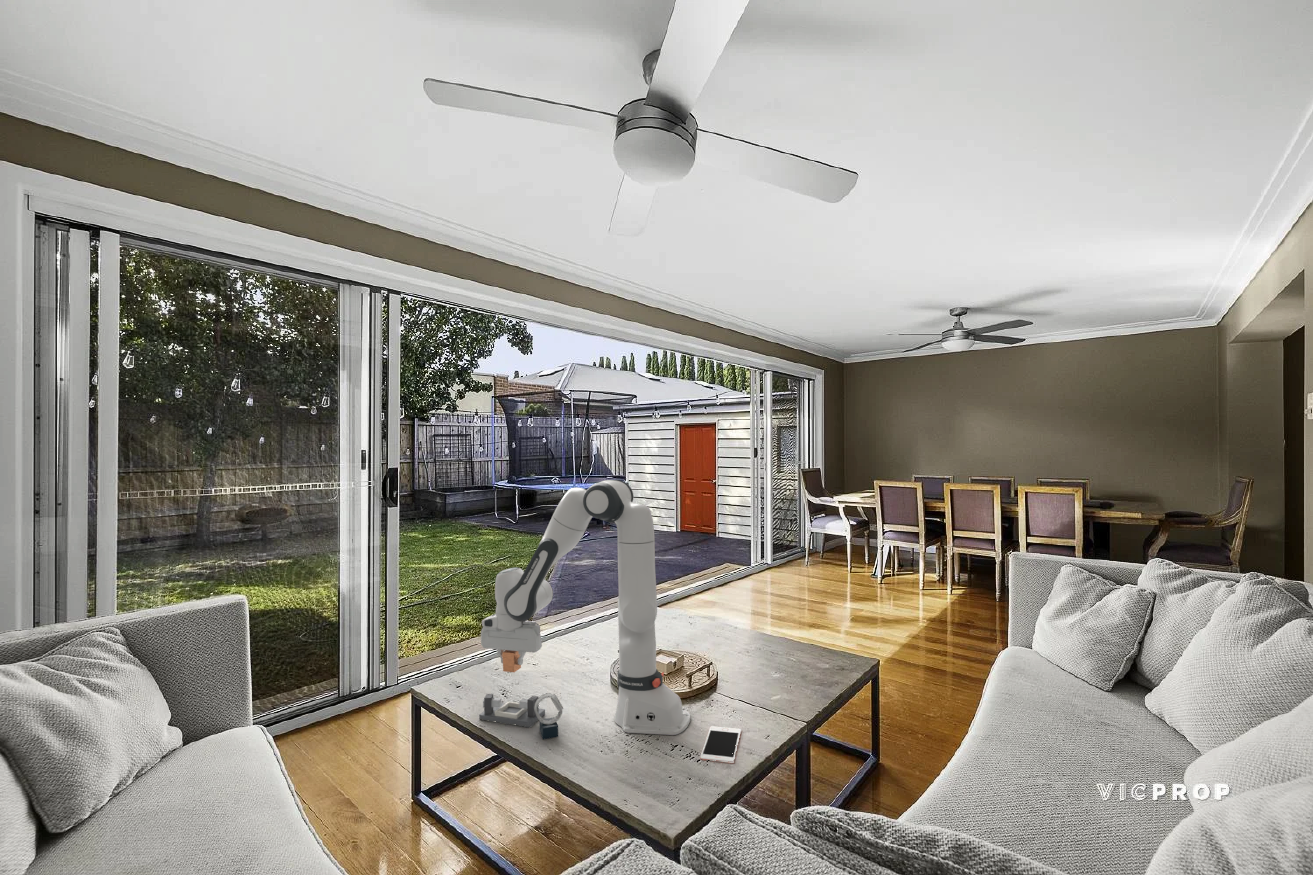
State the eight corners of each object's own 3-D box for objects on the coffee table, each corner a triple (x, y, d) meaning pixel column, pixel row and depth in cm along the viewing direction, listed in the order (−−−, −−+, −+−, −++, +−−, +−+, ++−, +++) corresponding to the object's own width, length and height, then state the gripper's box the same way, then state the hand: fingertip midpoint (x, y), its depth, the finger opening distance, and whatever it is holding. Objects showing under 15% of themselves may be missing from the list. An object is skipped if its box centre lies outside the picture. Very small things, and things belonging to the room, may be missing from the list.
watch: (565, 735, 172) (564, 696, 172) (536, 740, 169) (535, 700, 169) (561, 726, 177) (560, 688, 177) (533, 731, 174) (532, 692, 174)
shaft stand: (545, 714, 185) (544, 692, 185) (529, 727, 177) (529, 705, 177) (496, 706, 190) (496, 686, 190) (479, 719, 182) (479, 697, 182)
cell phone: (741, 731, 173) (741, 728, 173) (734, 765, 156) (734, 761, 156) (710, 728, 176) (710, 725, 176) (699, 761, 158) (699, 757, 158)
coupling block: (521, 667, 194) (520, 648, 194) (514, 672, 190) (513, 653, 190) (510, 666, 195) (509, 647, 195) (503, 671, 192) (502, 652, 192)
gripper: (544, 618, 193) (546, 662, 193) (488, 614, 199) (490, 657, 199) (534, 624, 187) (536, 670, 187) (477, 620, 193) (478, 664, 193)
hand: (511, 663), depth 193 cm, fingers closed on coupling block, 4 cm apart
